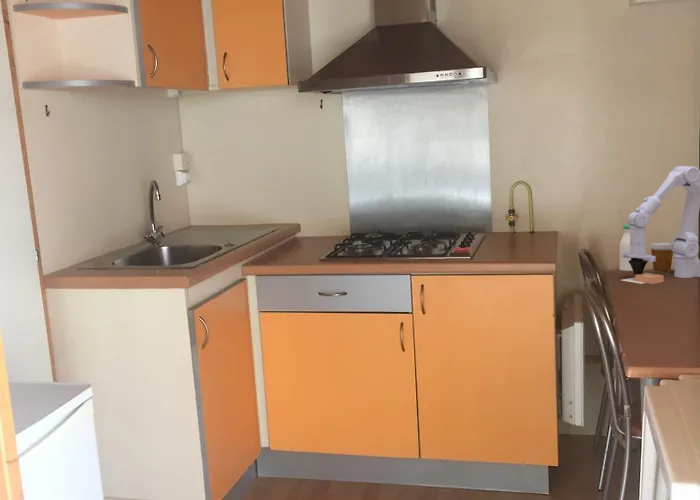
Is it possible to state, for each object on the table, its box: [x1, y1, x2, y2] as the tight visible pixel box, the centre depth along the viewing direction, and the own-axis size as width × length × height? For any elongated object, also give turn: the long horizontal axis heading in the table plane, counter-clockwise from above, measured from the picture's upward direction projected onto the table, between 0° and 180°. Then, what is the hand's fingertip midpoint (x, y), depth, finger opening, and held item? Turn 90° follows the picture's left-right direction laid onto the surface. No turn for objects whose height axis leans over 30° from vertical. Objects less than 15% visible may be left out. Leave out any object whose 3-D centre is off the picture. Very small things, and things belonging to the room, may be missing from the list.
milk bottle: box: [618, 224, 633, 272], centre depth 312 cm, size 8×8×20 cm
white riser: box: [621, 276, 644, 284], centre depth 289 cm, size 10×10×2 cm
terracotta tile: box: [634, 272, 664, 285], centre depth 285 cm, size 6×8×2 cm
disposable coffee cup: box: [649, 241, 674, 274], centre depth 309 cm, size 10×10×12 cm
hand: (638, 278), depth 289 cm, fingers closed
